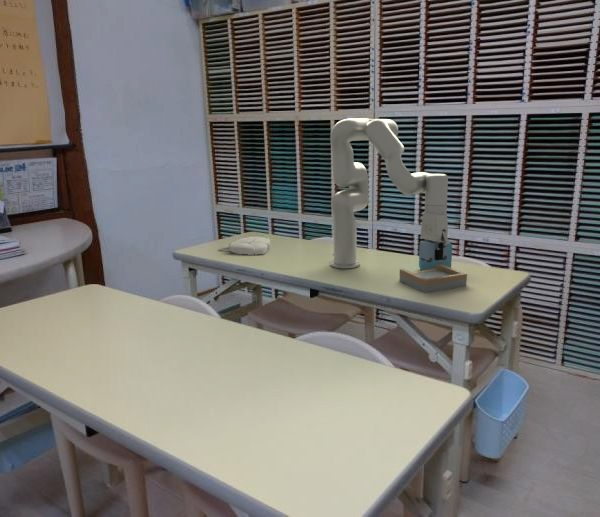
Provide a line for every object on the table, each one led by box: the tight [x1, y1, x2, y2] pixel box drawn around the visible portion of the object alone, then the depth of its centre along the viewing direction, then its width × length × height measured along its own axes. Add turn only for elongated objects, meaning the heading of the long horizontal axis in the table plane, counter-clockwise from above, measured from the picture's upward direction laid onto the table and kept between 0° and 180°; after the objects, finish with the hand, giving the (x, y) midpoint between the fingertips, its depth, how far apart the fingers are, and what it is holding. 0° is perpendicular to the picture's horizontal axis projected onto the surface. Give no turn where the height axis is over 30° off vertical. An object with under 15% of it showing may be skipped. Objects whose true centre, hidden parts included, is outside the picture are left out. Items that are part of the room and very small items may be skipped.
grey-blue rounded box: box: [418, 240, 449, 263], centre depth 181 cm, size 6×9×7 cm, turn 113°
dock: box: [399, 263, 468, 294], centre depth 184 cm, size 16×18×4 cm
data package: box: [418, 241, 453, 271], centre depth 199 cm, size 12×4×12 cm, turn 85°
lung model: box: [217, 236, 271, 256], centre depth 239 cm, size 7×17×25 cm
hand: (433, 257), depth 182 cm, fingers closed on grey-blue rounded box, 5 cm apart
